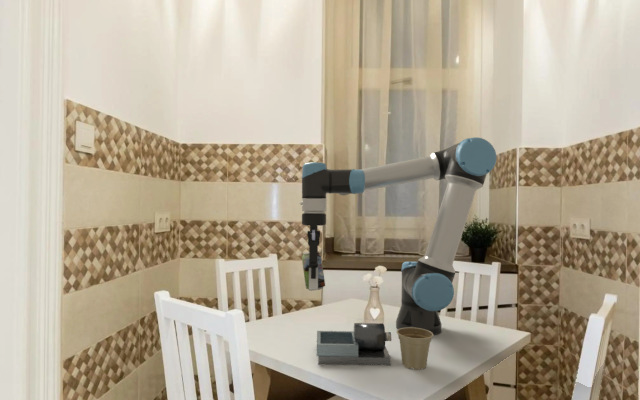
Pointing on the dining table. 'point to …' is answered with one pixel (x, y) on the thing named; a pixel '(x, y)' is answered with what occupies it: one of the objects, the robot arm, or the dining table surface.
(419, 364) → the flower pot
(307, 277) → the beverage can
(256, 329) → the dining table surface
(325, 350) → the motor housing
